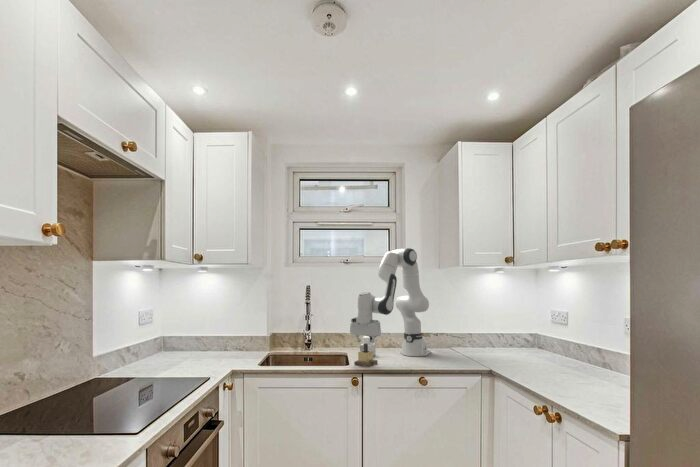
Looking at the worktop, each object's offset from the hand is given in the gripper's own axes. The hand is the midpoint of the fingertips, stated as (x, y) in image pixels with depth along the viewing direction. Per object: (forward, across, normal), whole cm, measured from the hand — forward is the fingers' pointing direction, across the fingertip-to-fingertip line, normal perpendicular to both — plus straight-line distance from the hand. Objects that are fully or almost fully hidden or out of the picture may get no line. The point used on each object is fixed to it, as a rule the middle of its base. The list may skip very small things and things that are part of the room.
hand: (365, 342), depth 246 cm
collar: (+10, 0, 0) cm, 10 cm away
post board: (+13, 0, 0) cm, 13 cm away
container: (+13, +12, -22) cm, 28 cm away
